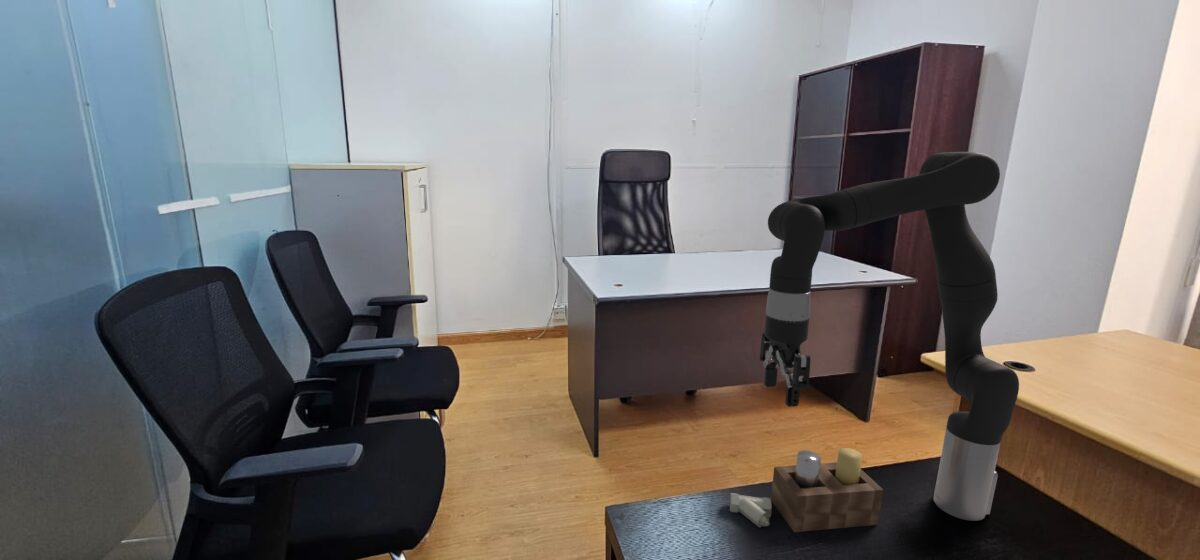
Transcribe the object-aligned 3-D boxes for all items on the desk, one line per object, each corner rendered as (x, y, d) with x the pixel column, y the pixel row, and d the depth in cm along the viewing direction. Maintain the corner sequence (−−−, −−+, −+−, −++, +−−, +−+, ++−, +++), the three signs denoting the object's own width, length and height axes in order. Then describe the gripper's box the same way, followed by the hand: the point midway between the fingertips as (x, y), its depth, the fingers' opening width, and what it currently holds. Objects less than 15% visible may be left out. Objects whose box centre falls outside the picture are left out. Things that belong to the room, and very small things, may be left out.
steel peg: (809, 482, 109) (813, 449, 107) (821, 495, 105) (825, 461, 103) (789, 483, 108) (793, 451, 106) (800, 496, 104) (804, 463, 102)
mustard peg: (849, 479, 110) (853, 447, 108) (862, 492, 106) (867, 459, 104) (829, 480, 109) (834, 448, 108) (842, 493, 105) (846, 460, 104)
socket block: (847, 493, 114) (852, 461, 113) (877, 524, 105) (883, 489, 103) (770, 499, 112) (774, 466, 110) (794, 532, 102) (798, 496, 100)
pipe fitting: (771, 533, 103) (768, 509, 109) (773, 517, 101) (770, 494, 108) (730, 527, 104) (729, 504, 110) (731, 511, 103) (730, 488, 109)
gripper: (828, 324, 88) (819, 411, 92) (787, 302, 102) (780, 379, 106) (787, 326, 87) (779, 414, 91) (751, 303, 101) (745, 381, 105)
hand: (780, 395), depth 98 cm, fingers open, 8 cm apart
